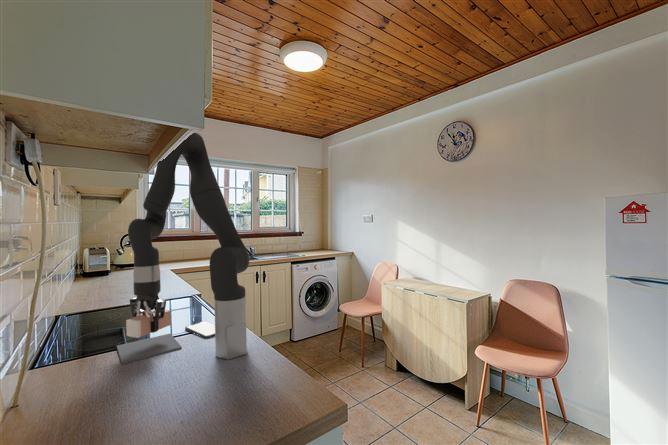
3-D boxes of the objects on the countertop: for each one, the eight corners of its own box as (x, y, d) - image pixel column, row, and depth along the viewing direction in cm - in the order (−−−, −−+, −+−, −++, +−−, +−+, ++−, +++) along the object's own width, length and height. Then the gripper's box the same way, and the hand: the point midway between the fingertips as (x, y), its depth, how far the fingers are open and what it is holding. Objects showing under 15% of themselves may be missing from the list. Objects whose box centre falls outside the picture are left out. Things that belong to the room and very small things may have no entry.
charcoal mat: (181, 348, 100) (181, 346, 100) (121, 364, 89) (121, 362, 89) (170, 335, 112) (170, 333, 112) (116, 347, 102) (116, 345, 102)
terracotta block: (170, 310, 106) (137, 321, 95) (170, 324, 106) (138, 337, 95) (159, 309, 108) (126, 320, 96) (160, 323, 108) (126, 335, 96)
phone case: (228, 333, 114) (205, 324, 124) (228, 329, 114) (205, 320, 124) (206, 341, 107) (183, 330, 117) (206, 336, 107) (183, 326, 117)
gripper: (120, 280, 99) (121, 332, 100) (152, 282, 94) (154, 337, 95) (142, 276, 106) (143, 324, 107) (173, 278, 101) (174, 329, 102)
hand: (148, 330), depth 101 cm, fingers closed on terracotta block, 5 cm apart
